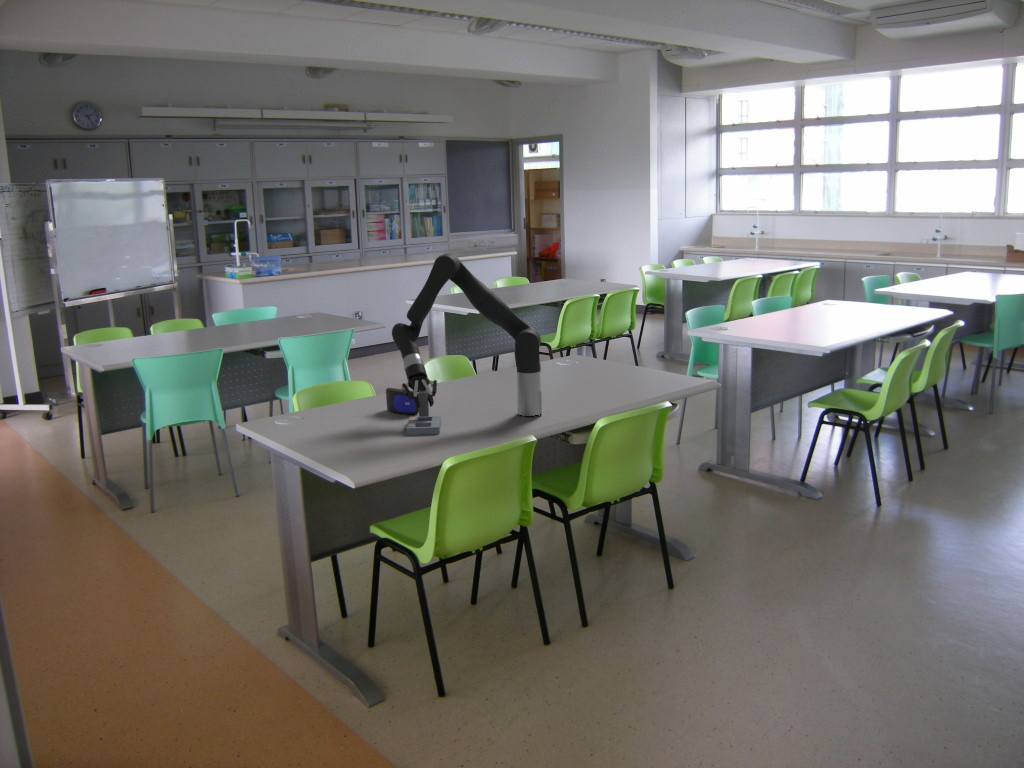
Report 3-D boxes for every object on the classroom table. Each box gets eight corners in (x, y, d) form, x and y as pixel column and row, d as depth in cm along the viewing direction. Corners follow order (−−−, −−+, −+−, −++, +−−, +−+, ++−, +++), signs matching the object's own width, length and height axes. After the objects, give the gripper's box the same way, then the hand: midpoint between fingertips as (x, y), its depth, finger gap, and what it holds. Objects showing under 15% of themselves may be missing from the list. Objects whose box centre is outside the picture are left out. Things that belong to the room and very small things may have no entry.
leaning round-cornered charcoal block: (381, 411, 336) (380, 388, 334) (389, 409, 340) (387, 386, 338) (412, 417, 328) (411, 393, 325) (420, 414, 331) (419, 391, 329)
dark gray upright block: (429, 414, 316) (427, 390, 314) (428, 416, 312) (427, 393, 310) (419, 414, 316) (418, 391, 314) (419, 416, 312) (417, 393, 310)
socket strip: (441, 422, 319) (441, 415, 318) (439, 433, 303) (439, 426, 303) (409, 423, 318) (409, 416, 318) (406, 435, 303) (405, 427, 302)
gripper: (397, 364, 314) (408, 403, 306) (434, 360, 319) (445, 398, 311) (394, 375, 320) (404, 413, 312) (430, 371, 325) (441, 409, 317)
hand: (425, 405), depth 311 cm, fingers closed on dark gray upright block, 4 cm apart
